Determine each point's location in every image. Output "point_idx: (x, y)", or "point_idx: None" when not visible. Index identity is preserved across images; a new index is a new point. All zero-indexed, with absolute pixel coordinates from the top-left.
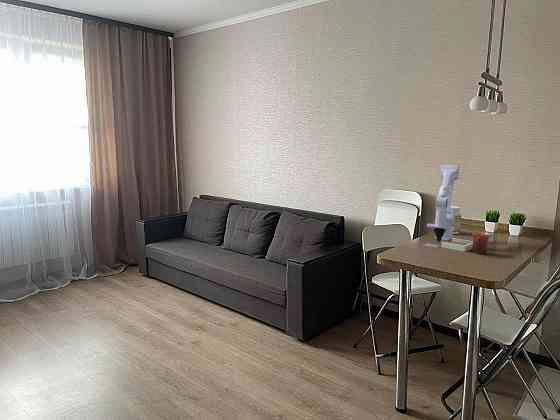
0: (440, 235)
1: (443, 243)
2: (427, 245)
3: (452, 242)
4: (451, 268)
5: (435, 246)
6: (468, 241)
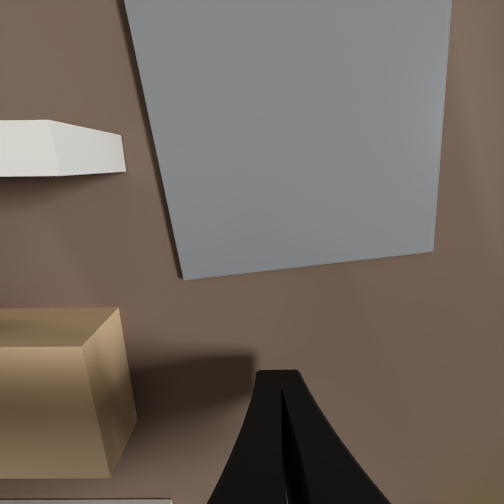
0: (225, 488)
1: (12, 122)
2: (367, 35)
3: (13, 402)
4: None
5: (207, 81)
6: None
